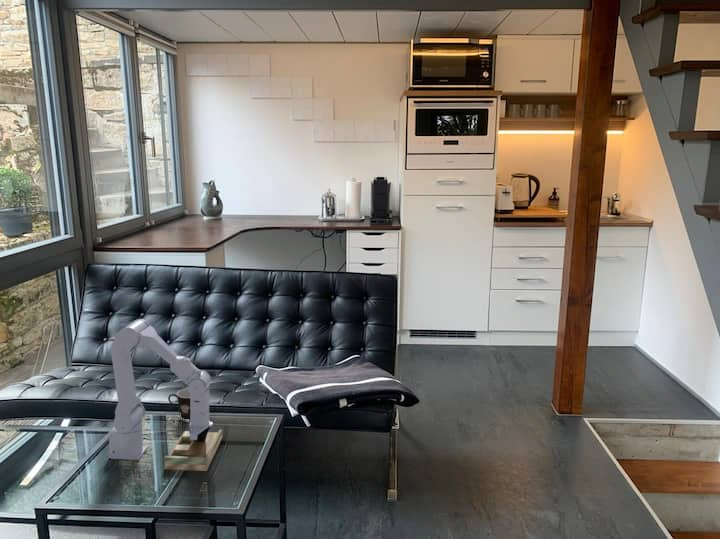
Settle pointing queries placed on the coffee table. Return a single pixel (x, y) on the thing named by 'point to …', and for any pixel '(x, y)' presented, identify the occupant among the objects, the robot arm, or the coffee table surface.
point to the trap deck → (183, 462)
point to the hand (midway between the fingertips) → (200, 449)
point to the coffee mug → (182, 403)
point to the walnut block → (197, 449)
